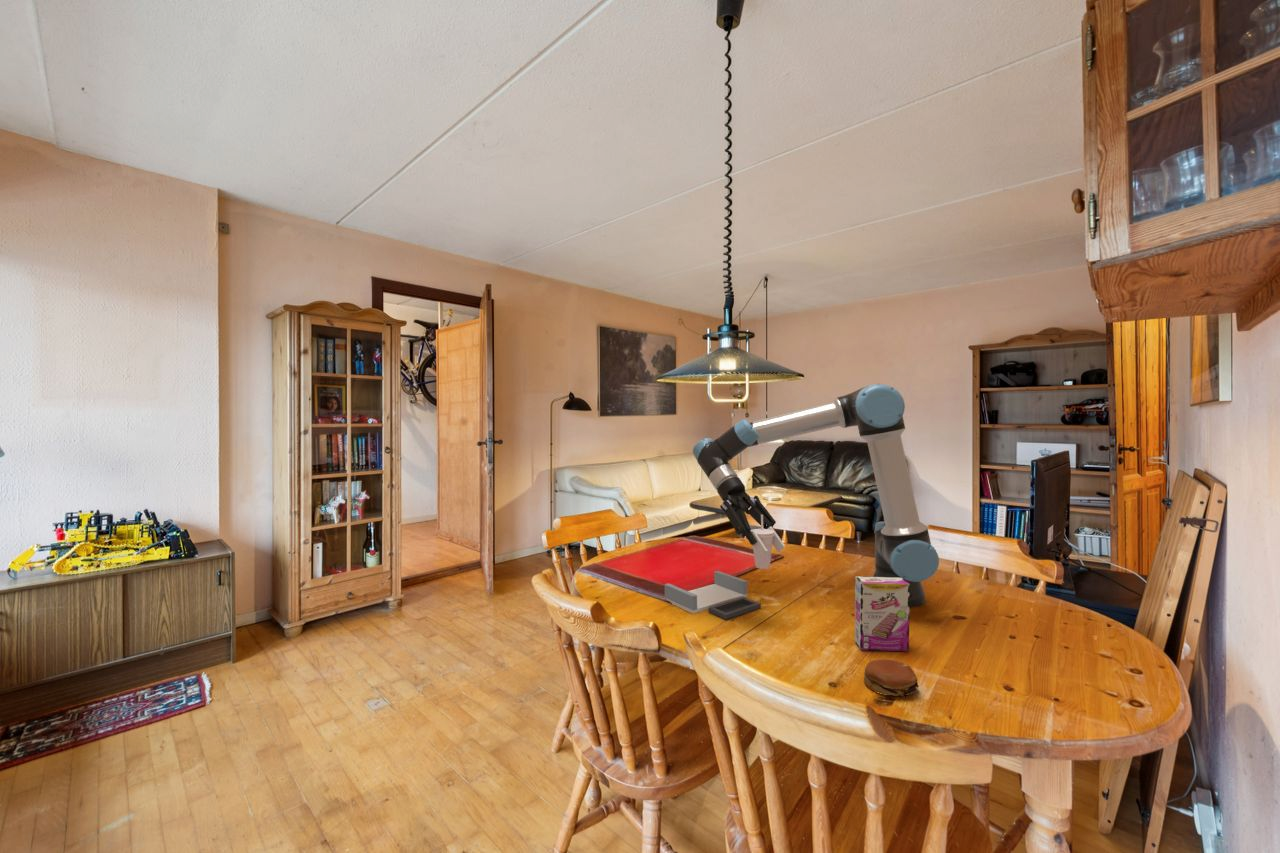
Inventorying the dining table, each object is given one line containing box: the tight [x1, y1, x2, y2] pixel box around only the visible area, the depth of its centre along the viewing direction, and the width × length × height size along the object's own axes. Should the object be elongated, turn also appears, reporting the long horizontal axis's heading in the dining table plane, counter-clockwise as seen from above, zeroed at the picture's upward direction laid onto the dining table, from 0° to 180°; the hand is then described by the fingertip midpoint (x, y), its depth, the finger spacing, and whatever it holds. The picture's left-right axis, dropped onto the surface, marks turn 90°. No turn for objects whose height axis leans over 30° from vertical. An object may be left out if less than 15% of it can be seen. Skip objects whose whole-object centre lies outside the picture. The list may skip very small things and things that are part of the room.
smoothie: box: [751, 515, 774, 570], centre depth 136 cm, size 6×6×14 cm
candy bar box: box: [854, 575, 910, 653], centre depth 121 cm, size 11×5×16 cm, turn 84°
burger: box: [863, 658, 920, 697], centre depth 103 cm, size 10×9×5 cm
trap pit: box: [708, 597, 762, 621], centre depth 145 cm, size 7×14×2 cm, turn 125°
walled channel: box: [664, 570, 748, 615], centre depth 155 cm, size 13×22×5 cm, turn 125°
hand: (772, 551), depth 133 cm, fingers closed on smoothie, 6 cm apart
